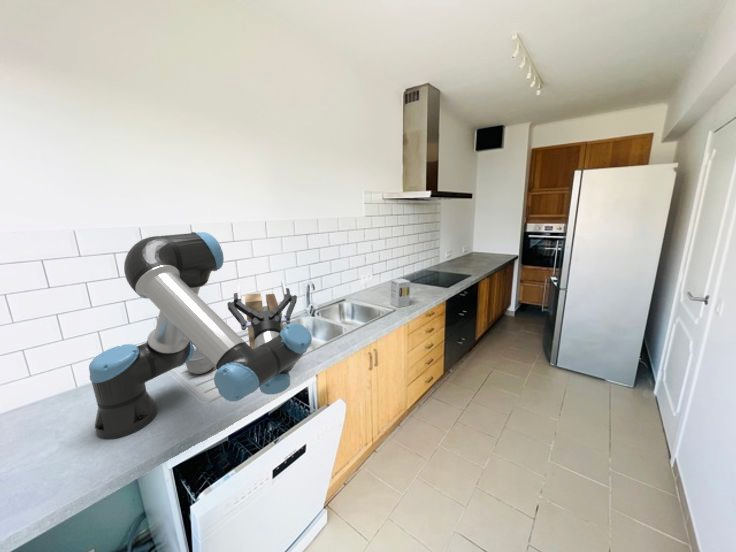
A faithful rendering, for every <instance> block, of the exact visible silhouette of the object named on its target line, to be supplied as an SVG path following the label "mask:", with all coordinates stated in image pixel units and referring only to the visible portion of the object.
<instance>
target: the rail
mask: <svg viewBox="0 0 736 552" xmlns="http://www.w3.org/2000/svg"><path fill="white" fill-rule="evenodd" d="M265 299H266V300H265V301H266V302H265V303H266V306H267V307H268V310H271V311H273V310H274V309H275V308H276V307H277V306H278V305H279V304H278V301H277V298H276V294H275V293H266V294H265ZM279 316H280V317H281V313H280V315H279Z"/></svg>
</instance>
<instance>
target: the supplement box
mask: <svg viewBox="0 0 736 552" xmlns="http://www.w3.org/2000/svg"><path fill="white" fill-rule="evenodd" d="M410 292H411V281H410V280H407V279H406V278H395V279H391V281H390V300H389V301H390V304H391V305H392V306H395V307H396V308H403V307H408V306H410V295H411V293H410Z"/></svg>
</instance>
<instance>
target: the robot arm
mask: <svg viewBox="0 0 736 552" xmlns="http://www.w3.org/2000/svg"><path fill="white" fill-rule="evenodd" d="M224 260H225V259H224V252H223V249H222V246H221V244H220V242H218V240H217V238H215V237H214V236H213V235H212V234H211V233H208V232H203V231H201V232H198V231H197V232H196V231H192V232H190V233H179V234H176V233H175V234H167V235H154V236H149V237H145V238H143V239H141V240H139V241H138V242H136V243H135V244H134V245H132V246H131V248H130V249H129V251H128V252H127V253H126V256H125V260H124V265H123V270H124V275H125V279H126V282H127V283H128V284H129V287H130V288H131V290H133V291H134V292H135V294H136V295H138V297H141V298H142V299H147V300H149V301H151V302H152V303H153V304H154V306H155V307H156V308H157V309H158V310H159V313H158V318H157V322H156V327H155V329H152V330H151V331H150V333H149V334H148V336H147V340H146V342H145V343H141V344H140V345H138V346H137V345H136V344H133V343H132V344H131V343H130V344H122V345H121V346H120V345H117V346H114V347H110V348H109V349H105V350H104V351H102V352H100V353H99V354H98V355H96V356H95V357H94V358H93V359H92V361H90V362H89V365H88V370H89V380H90V382H91V385H92V388H93V393H94V397H95V400H96V404H97V411H96V417H95V422H94V431H95V434H96V436H97V437H99V438H101V439H107V440H109V439H110V440H111V439H117V438H118V439H119V438H122V437H125V436H128V435H130V434H133V433H135V432H137V431H139V430H141V429H143V428H144V427H146V426H147V425H148V424H149V423H151V422H152V421H153V420H154V419H155V418H156V416H157V414H158V408H157V403H156V401H155V400H154V399H153V397H152V396H151V395H150V394H149V392H148V391H147V389H146V388H147V387H146V383H147V382H149V381H151V380H153V379H155V378H158V377H159V376H162V375H163V374H166V373H168V372H171V370H174V369H177V368H179V367H181V366H183V365H184V364H186V362H187V361H189V360H190V359H191V357H192V356H193V353H194V349H196V348H197V349H198V350H199V351H200V352H201V353H202V354H203V355H204V356H205V358H206V359H207V360H208V361H209V362H210V363H211V364H212V365H213V368H215V370H216V371H215V373H214V375H213V381H214V382H213V383H214V386H215V388H216V389H217V390H218V394H219V395H220V396H221V397H222V398H223V399H225V401H229V402H232V403H233V402H239V401H240V400H242V399H244V398H245V397H247V396H249V395H251V394H252V393H254V392H256V391H257V390H258V389H259V390H260V392H261V393H262V394H265V395H268V396H269V395H270V396H271V395H277V394H281V393H283V392H285V391H286V390H287V389H289V388H290V386H291V375H290V372H291V370H292V369H293V368H294V366H295V365H296V364H297V362H298V361H299V360H300V359H301V357H302V356H303V355H304V354H306V353H307V351H308V349H309V347H310V346H311V344H312V340H313V339H312V337H313V336H312V334H311V332H310V331H309V330H308V329H307V327H306V326H305V325H303V324H301V323H298V322H297V323H296V322H291V316H292V313H293V311H294V310H295V307H296V304H297V300H298V296H297V295H296V294H294V295H292V294H291V292H290V291H291V290H290V288H289V287H286V283H285V279H281V283H280V284H281V285H280V286H281V289H282V295H283V299H282V300H281V302H280V303H279V304H278V306H277V307H276V308H275V309H274V310H273V311H271V310H267V311H260V312H256V311H255V310H252V309H250V308H249V307H247V306H246V305H245V304H244V303H243V302H242V294H241V284H240V282H239V283H238V282H237V283H236V287H237V289H236V290H237V292H234V293H233V301H228V302H227V309H228V311H229V312H230V314H231V315H232V316H233V317H234V318H235V319H236V321H237V322H238V323H239V325H240V327H241V330H242V331H246V329H248V327H253V331H254V340H255V349H252V348H251V347H250V344H248V343H246V341H245V340H244V339H243V338H241V336H240V335H239V334H237V333H236V331H234V330H233V329H232V328H231V326H230V325H228V324H227V322H226V321H224V320H223V319H222V318H221V316H219V315H218V314H217V313H216V311H214V310H213V308H211V307H210V306H209V305H208V304H207V303H206V302H205V301H204V300H203V299H202V298H201V297H200V296H199V295H198V294H199V293H200V288H201V287H204V286H205V285H207V283H208V281H209V279H210V276H211V273H212V272H217V271H218V270H220V269H222V267H223V265H224ZM287 306H288V307H287ZM286 307H287V309H286V312H285V314H284V315H282V318H281V317H280V316H279V315H280V313H281V312H282V313H283V311H284V310H285V308H286ZM242 313H243V314H244V315H245V316H246V317H247V316H248V317H250V318H251V320H252V321H251V322H248V320H247V318H246V319H245V317H244V315H242ZM281 322H283V323H285V324H286V326H285V327H283V329H282V330H281V325H280V324H281Z"/></svg>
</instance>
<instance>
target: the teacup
mask: <svg viewBox="0 0 736 552" xmlns="http://www.w3.org/2000/svg"><path fill="white" fill-rule="evenodd" d="M185 365H186V366H185V367H186V368H187V370H188V372H189V373H191V374H194V375H201V374H206V373H208V372H209V371H211V370H212V369H213V368H214V366H213V365H212V364H211V363H210V362H209V361H208V360H207V359H206V358H205V356H204V355H203V354H202V353H201V352H200V351H199V350H198V349H197V348H196V347H195V348H194V353H193V356H192V357H191V359H190V360H189V361H187V362H186V363H185Z"/></svg>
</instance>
